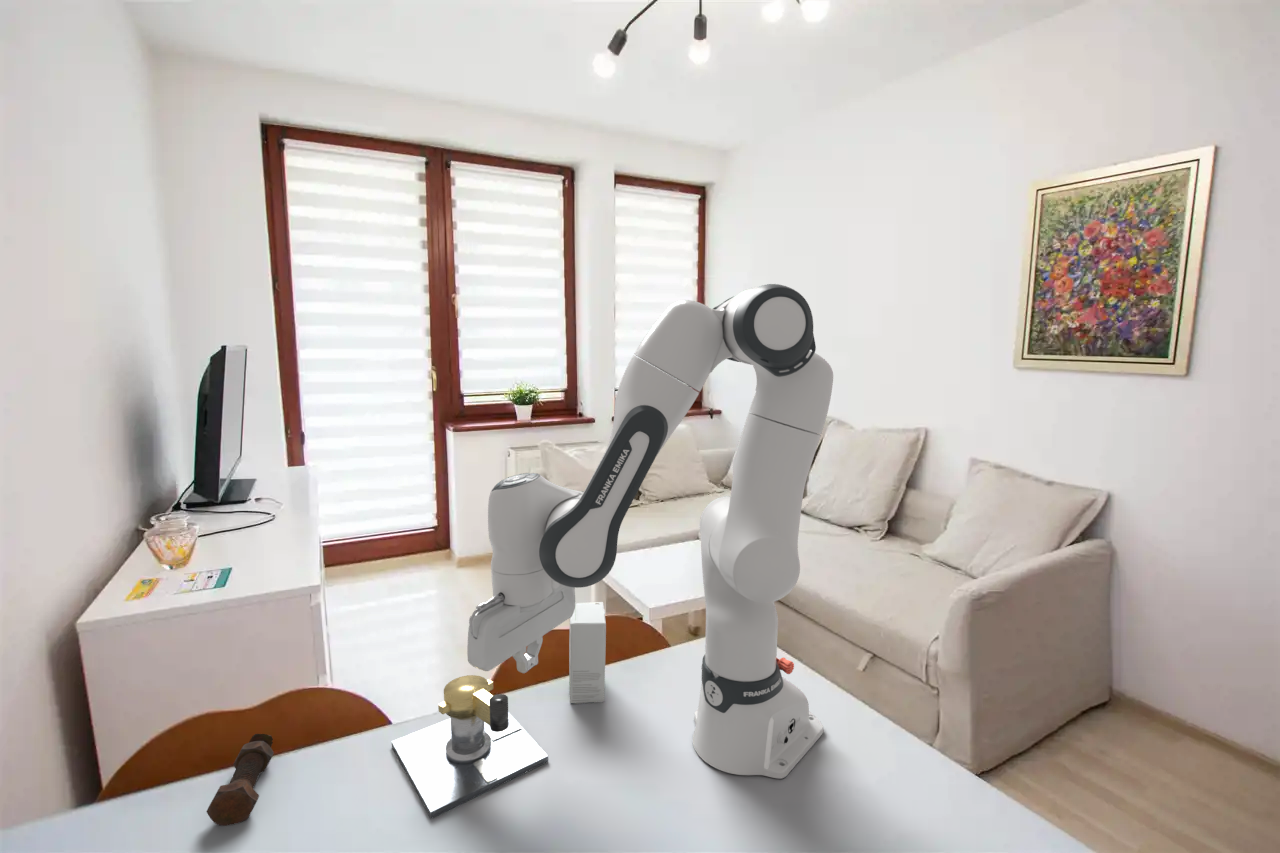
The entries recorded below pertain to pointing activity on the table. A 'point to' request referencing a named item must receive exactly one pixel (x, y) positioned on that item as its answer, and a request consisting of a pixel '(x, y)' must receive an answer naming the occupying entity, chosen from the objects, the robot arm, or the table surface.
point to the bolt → (242, 783)
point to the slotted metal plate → (464, 760)
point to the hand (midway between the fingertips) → (527, 668)
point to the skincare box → (587, 653)
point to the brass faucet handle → (475, 702)
